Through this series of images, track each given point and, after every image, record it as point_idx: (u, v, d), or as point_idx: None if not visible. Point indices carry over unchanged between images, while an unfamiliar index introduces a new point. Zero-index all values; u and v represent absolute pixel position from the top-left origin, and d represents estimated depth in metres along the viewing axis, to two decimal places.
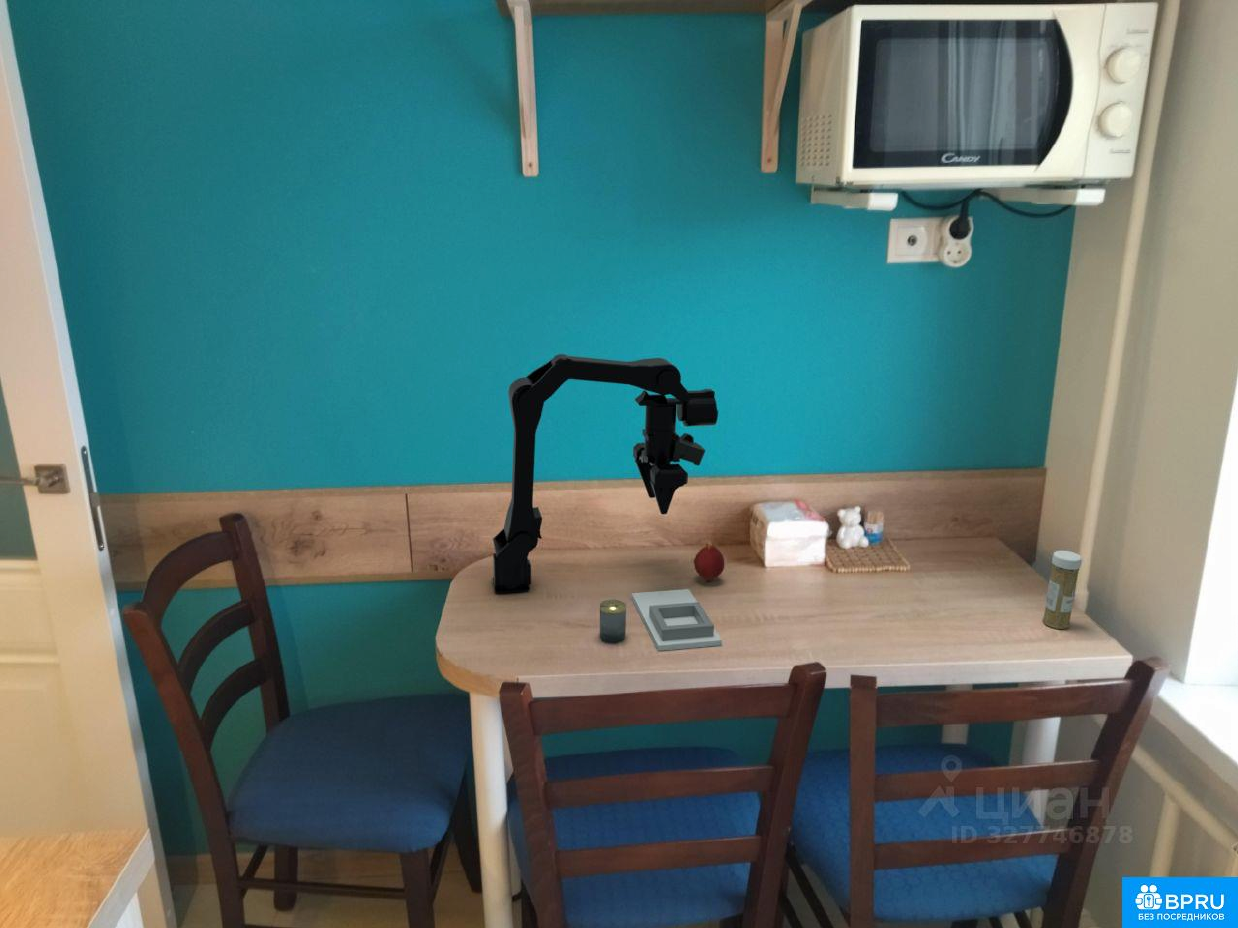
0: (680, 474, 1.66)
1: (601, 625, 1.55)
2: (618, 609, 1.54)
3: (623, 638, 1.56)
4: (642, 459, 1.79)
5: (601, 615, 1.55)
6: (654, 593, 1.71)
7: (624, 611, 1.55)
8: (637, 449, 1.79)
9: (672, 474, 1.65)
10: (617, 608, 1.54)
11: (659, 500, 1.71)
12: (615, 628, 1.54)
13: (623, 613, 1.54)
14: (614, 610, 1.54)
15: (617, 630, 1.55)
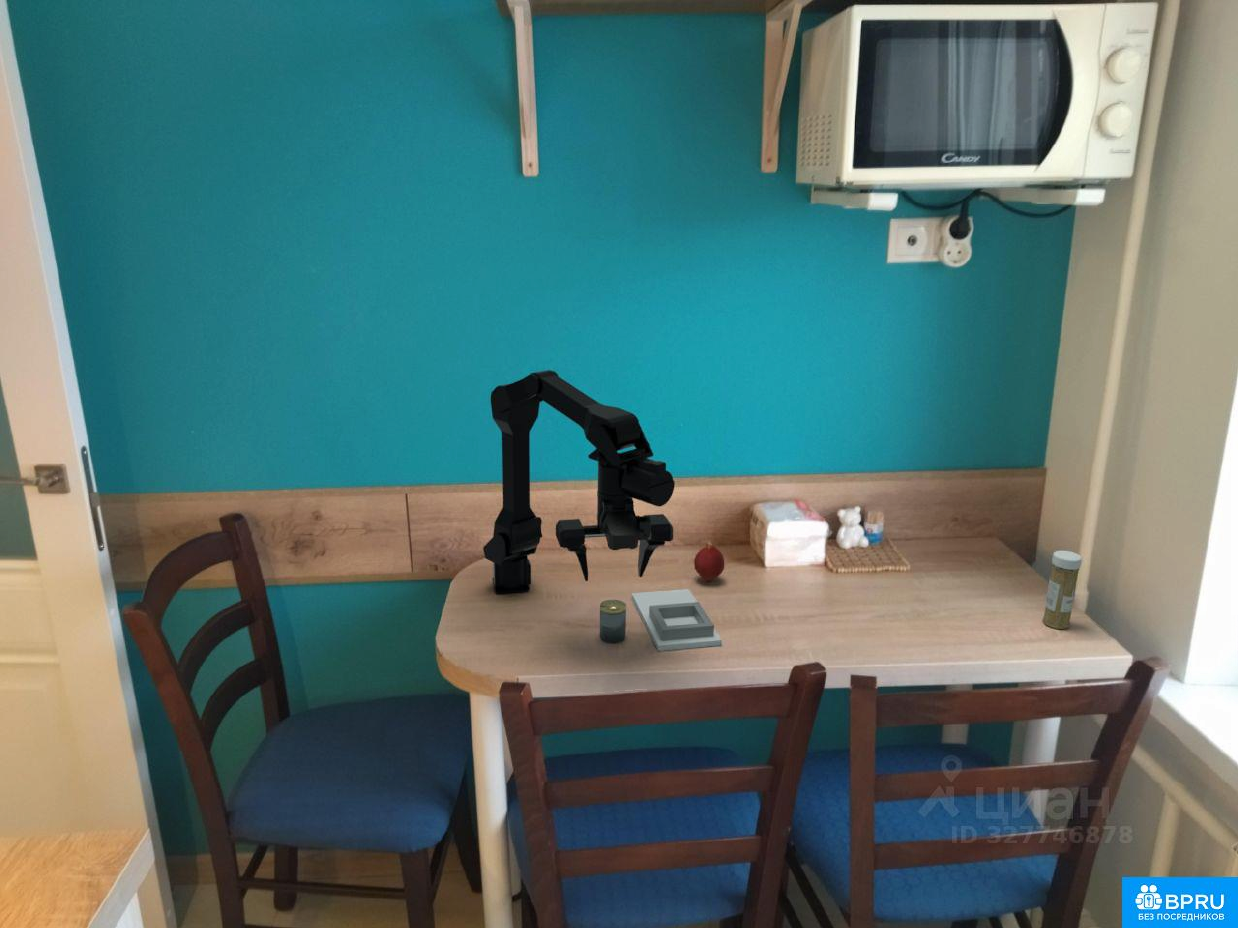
0: (559, 533, 1.48)
1: (601, 625, 1.55)
2: (618, 609, 1.54)
3: (623, 638, 1.56)
4: None
5: (601, 615, 1.55)
6: (654, 593, 1.71)
7: (624, 611, 1.55)
8: None
9: (558, 530, 1.49)
10: (617, 608, 1.54)
11: None
12: (615, 628, 1.54)
13: (623, 613, 1.54)
14: (614, 610, 1.54)
15: (617, 630, 1.55)
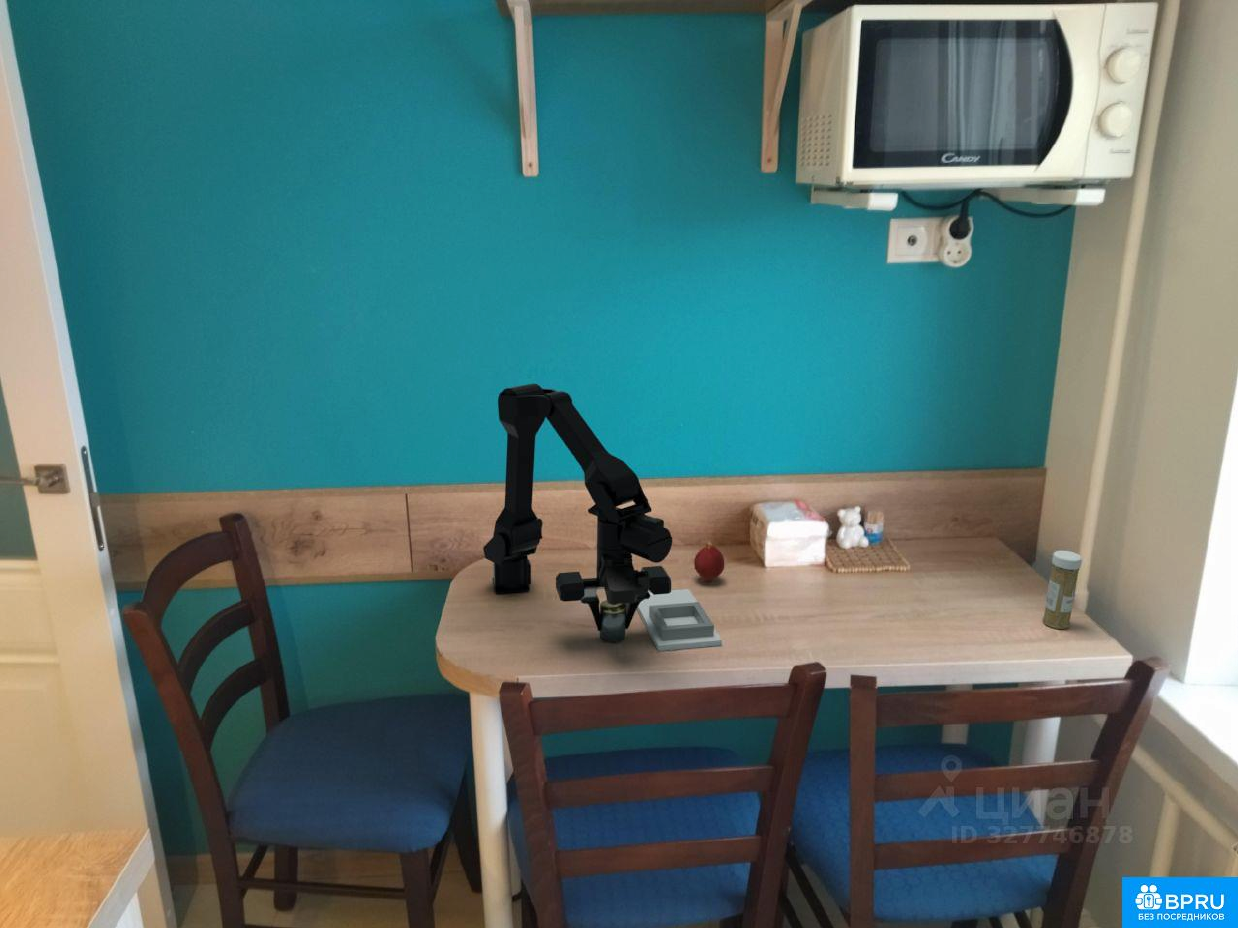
0: (559, 587, 1.51)
1: (601, 625, 1.55)
2: (618, 609, 1.54)
3: (623, 638, 1.56)
4: None
5: (601, 615, 1.55)
6: None
7: (624, 611, 1.55)
8: None
9: (558, 583, 1.52)
10: (617, 608, 1.54)
11: None
12: (615, 628, 1.54)
13: (623, 613, 1.54)
14: (614, 610, 1.54)
15: (617, 630, 1.55)
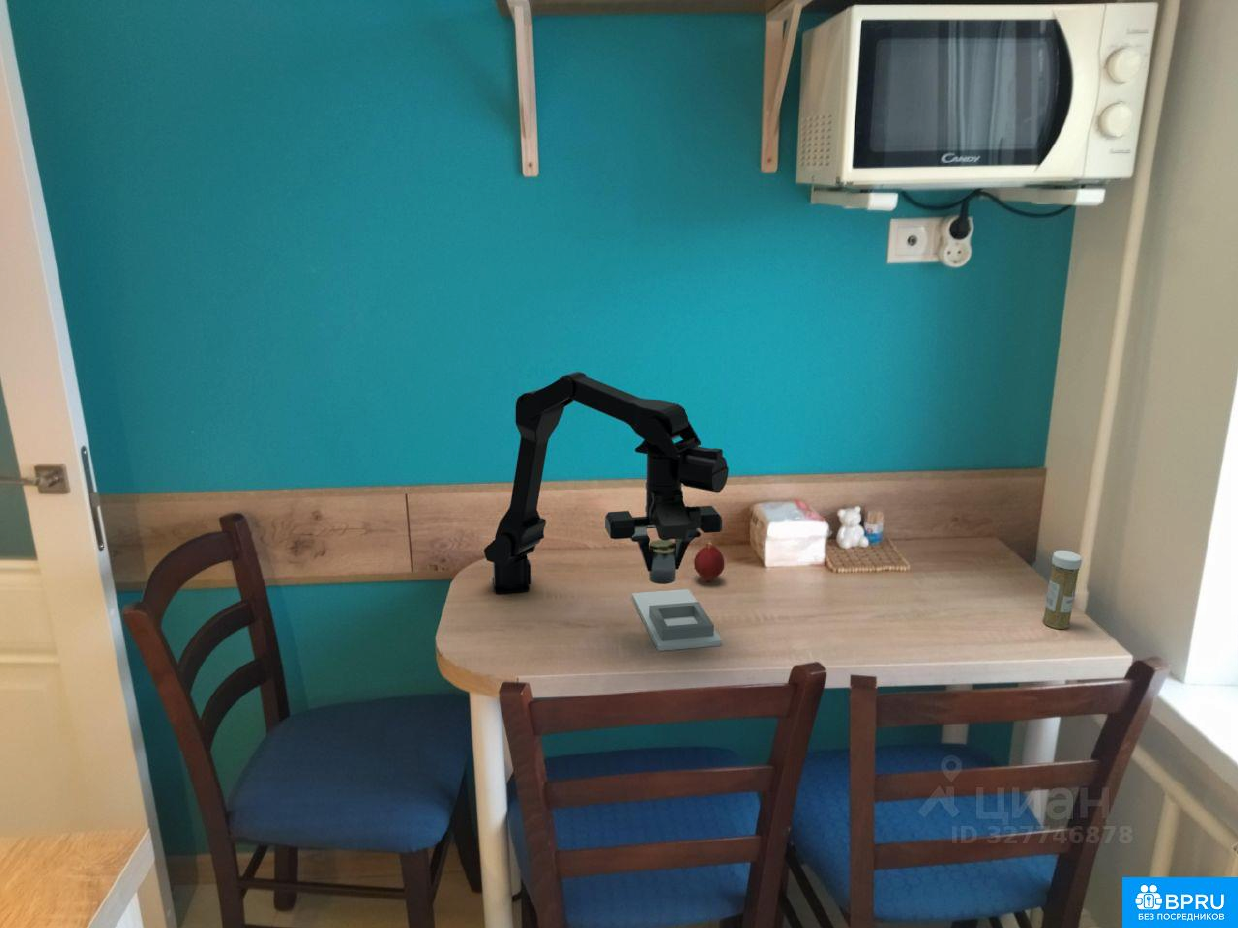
0: (609, 524, 1.49)
1: (651, 565, 1.53)
2: (668, 548, 1.52)
3: (673, 579, 1.54)
4: None
5: (651, 555, 1.53)
6: (654, 593, 1.71)
7: (674, 550, 1.53)
8: None
9: (607, 521, 1.50)
10: (667, 547, 1.52)
11: (642, 551, 1.54)
12: (665, 568, 1.52)
13: (673, 552, 1.52)
14: (664, 549, 1.52)
15: (667, 570, 1.53)
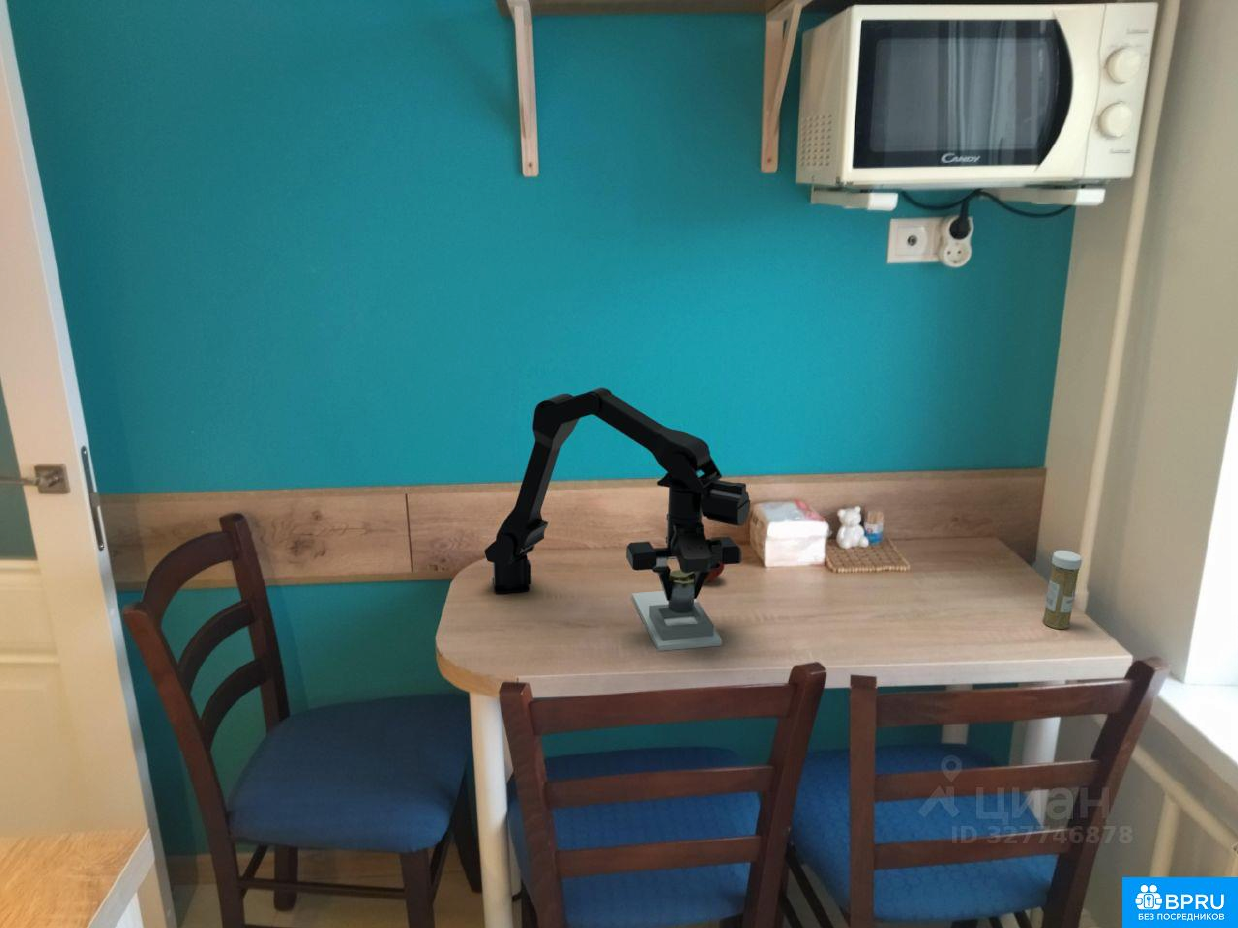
0: (631, 556, 1.52)
1: (671, 595, 1.56)
2: (688, 579, 1.55)
3: (692, 608, 1.57)
4: None
5: (671, 585, 1.56)
6: (654, 593, 1.71)
7: (694, 581, 1.56)
8: None
9: (629, 552, 1.53)
10: (687, 578, 1.55)
11: (661, 581, 1.57)
12: (685, 598, 1.55)
13: (693, 583, 1.55)
14: (684, 580, 1.55)
15: (687, 600, 1.56)
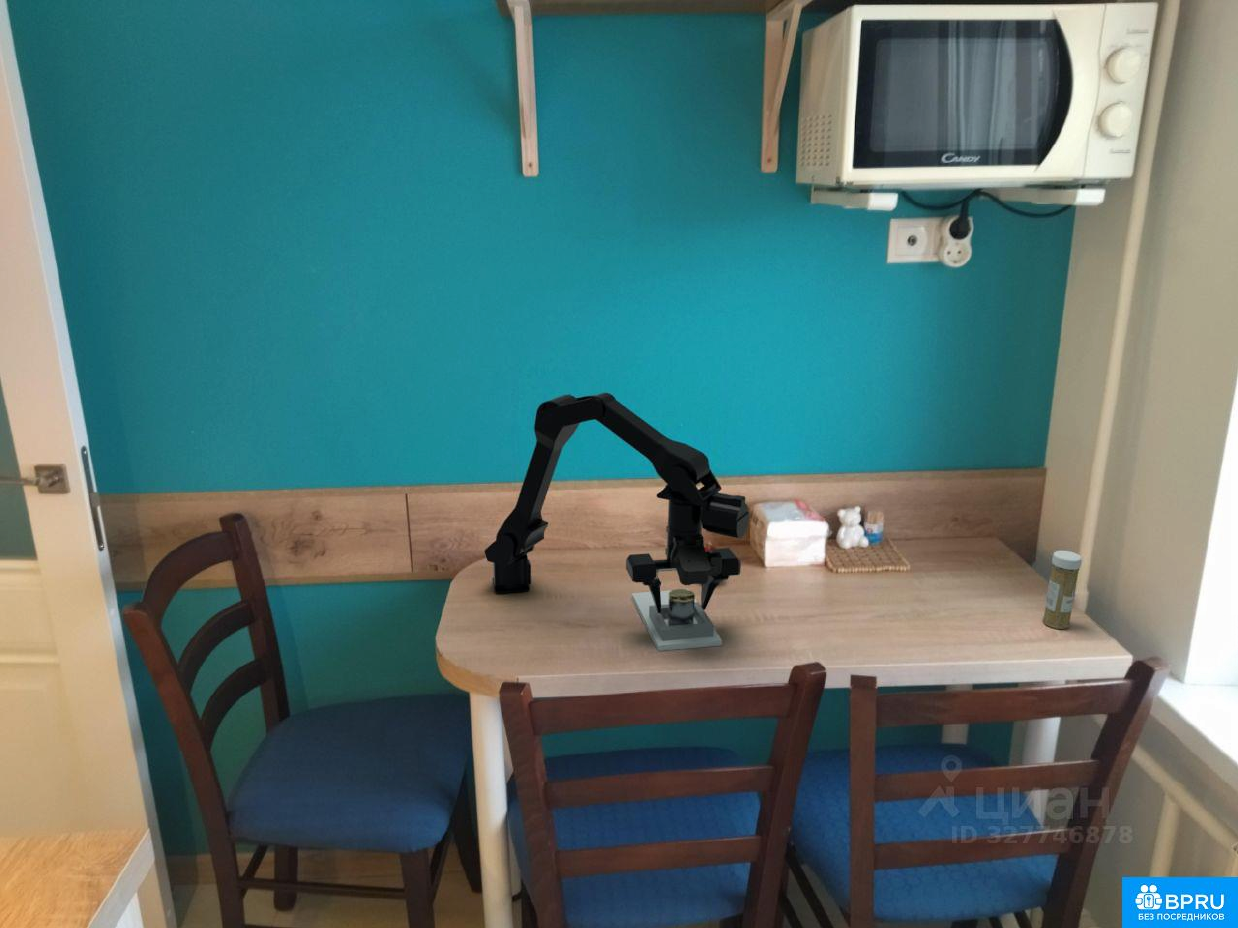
0: (631, 568, 1.52)
1: (670, 614, 1.57)
2: (687, 598, 1.56)
3: None
4: None
5: (670, 604, 1.57)
6: None
7: (693, 600, 1.57)
8: None
9: (629, 564, 1.54)
10: (686, 597, 1.56)
11: (652, 593, 1.58)
12: (684, 617, 1.56)
13: (692, 602, 1.56)
14: (684, 599, 1.56)
15: (686, 619, 1.57)
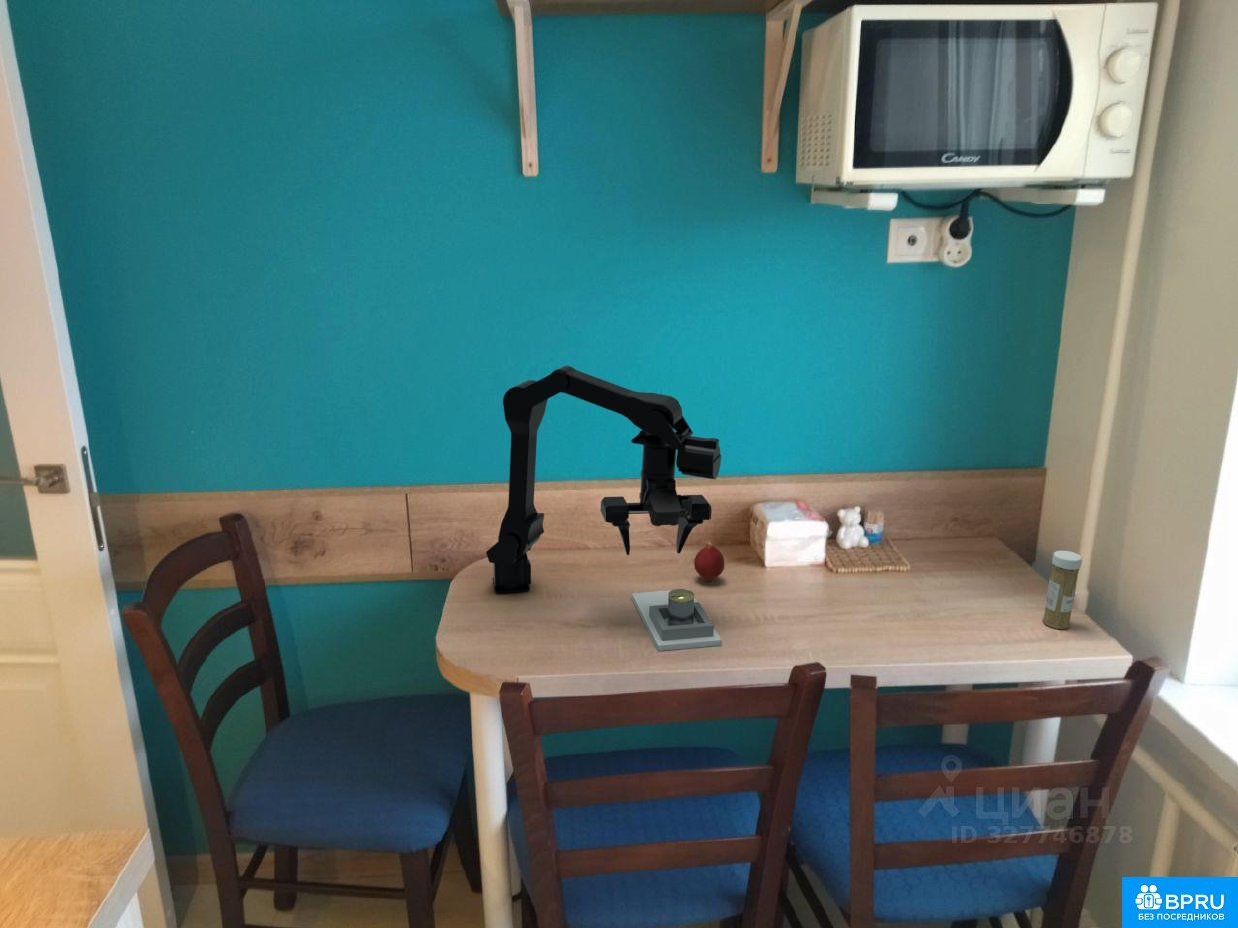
0: (605, 509, 1.57)
1: (670, 614, 1.57)
2: (687, 598, 1.56)
3: None
4: None
5: (670, 604, 1.57)
6: (654, 593, 1.71)
7: (693, 600, 1.57)
8: None
9: (603, 506, 1.58)
10: (686, 597, 1.56)
11: (622, 535, 1.62)
12: (684, 617, 1.56)
13: (692, 602, 1.57)
14: (683, 599, 1.56)
15: (686, 619, 1.57)
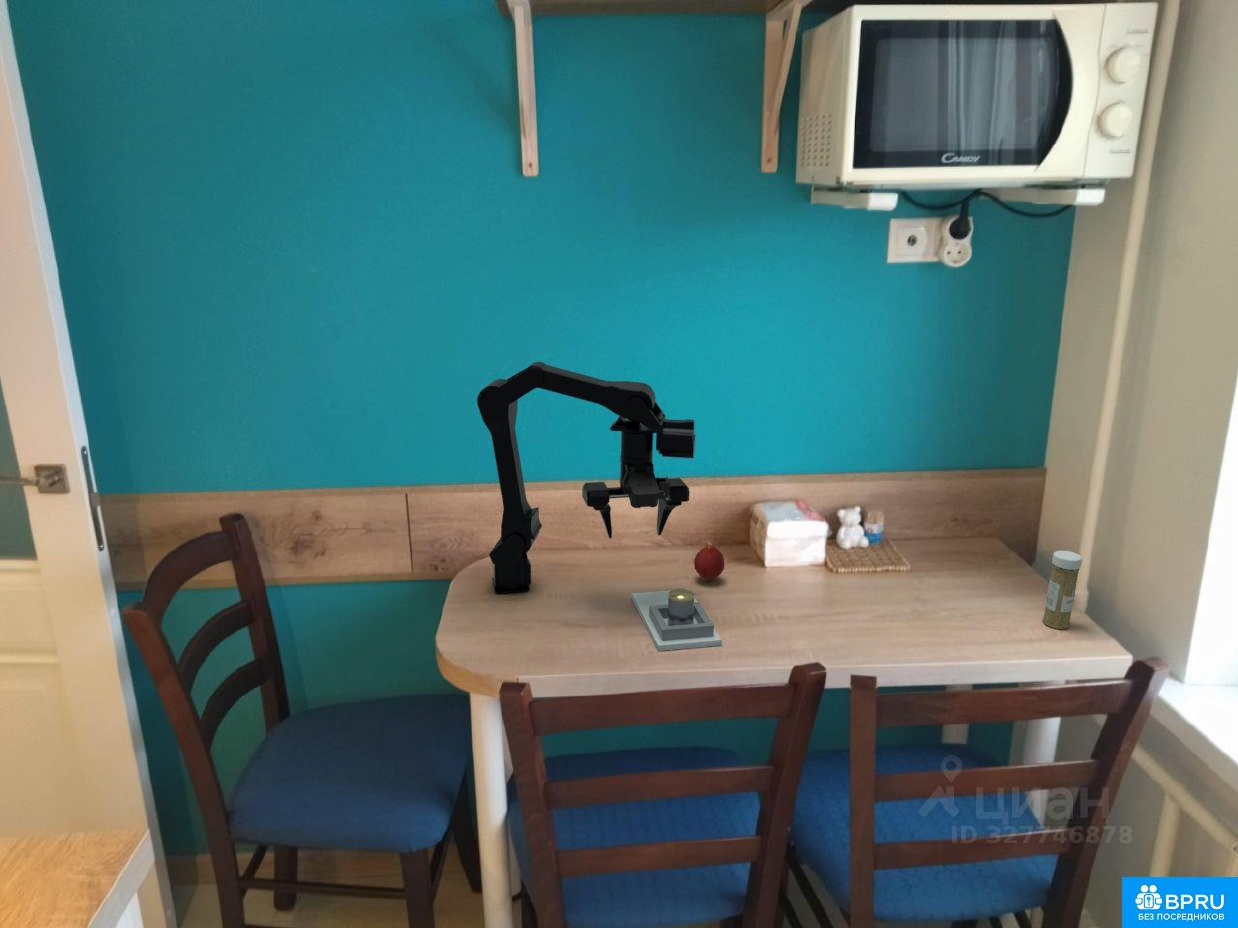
0: (586, 493, 1.63)
1: (670, 614, 1.57)
2: (687, 597, 1.56)
3: None
4: None
5: (670, 604, 1.57)
6: (654, 593, 1.71)
7: (693, 599, 1.57)
8: None
9: (584, 491, 1.64)
10: (686, 596, 1.56)
11: (603, 520, 1.68)
12: (685, 616, 1.56)
13: (692, 601, 1.57)
14: (683, 598, 1.56)
15: (686, 618, 1.57)
